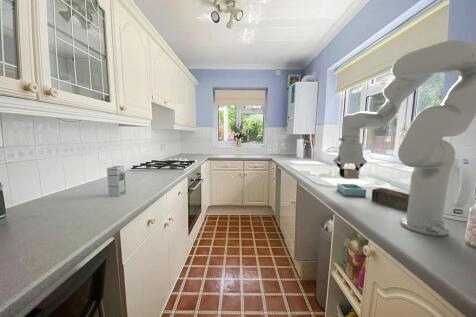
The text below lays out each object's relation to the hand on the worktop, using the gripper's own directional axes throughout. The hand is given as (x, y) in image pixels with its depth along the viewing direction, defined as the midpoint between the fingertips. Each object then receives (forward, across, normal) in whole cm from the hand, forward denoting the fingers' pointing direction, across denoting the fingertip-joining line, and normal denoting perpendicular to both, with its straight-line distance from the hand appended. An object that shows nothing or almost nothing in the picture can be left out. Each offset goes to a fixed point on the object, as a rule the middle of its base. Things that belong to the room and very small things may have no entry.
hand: (349, 176), depth 104 cm
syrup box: (+11, -117, -11) cm, 118 cm away
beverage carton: (+13, +20, -4) cm, 24 cm away
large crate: (+12, +6, +13) cm, 19 cm away
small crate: (+1, 0, 0) cm, 1 cm away
